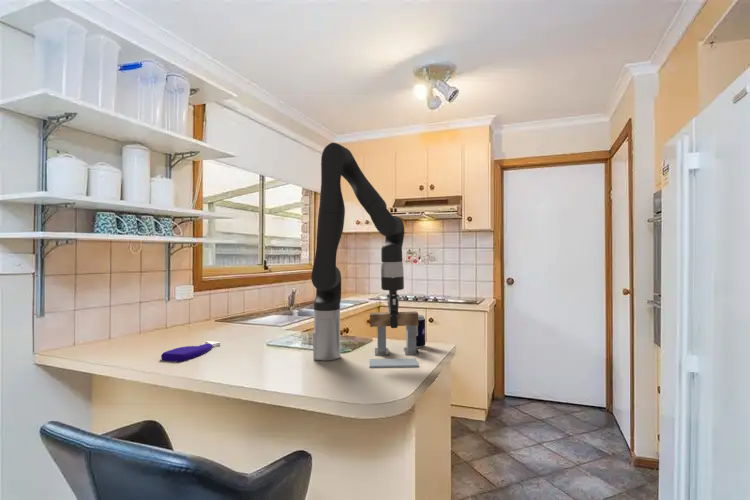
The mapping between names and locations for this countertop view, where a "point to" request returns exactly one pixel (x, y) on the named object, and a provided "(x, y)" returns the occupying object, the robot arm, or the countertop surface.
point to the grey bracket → (411, 341)
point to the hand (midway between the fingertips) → (393, 326)
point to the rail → (402, 319)
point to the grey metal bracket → (381, 341)
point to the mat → (393, 363)
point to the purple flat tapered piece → (188, 352)
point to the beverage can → (420, 332)
